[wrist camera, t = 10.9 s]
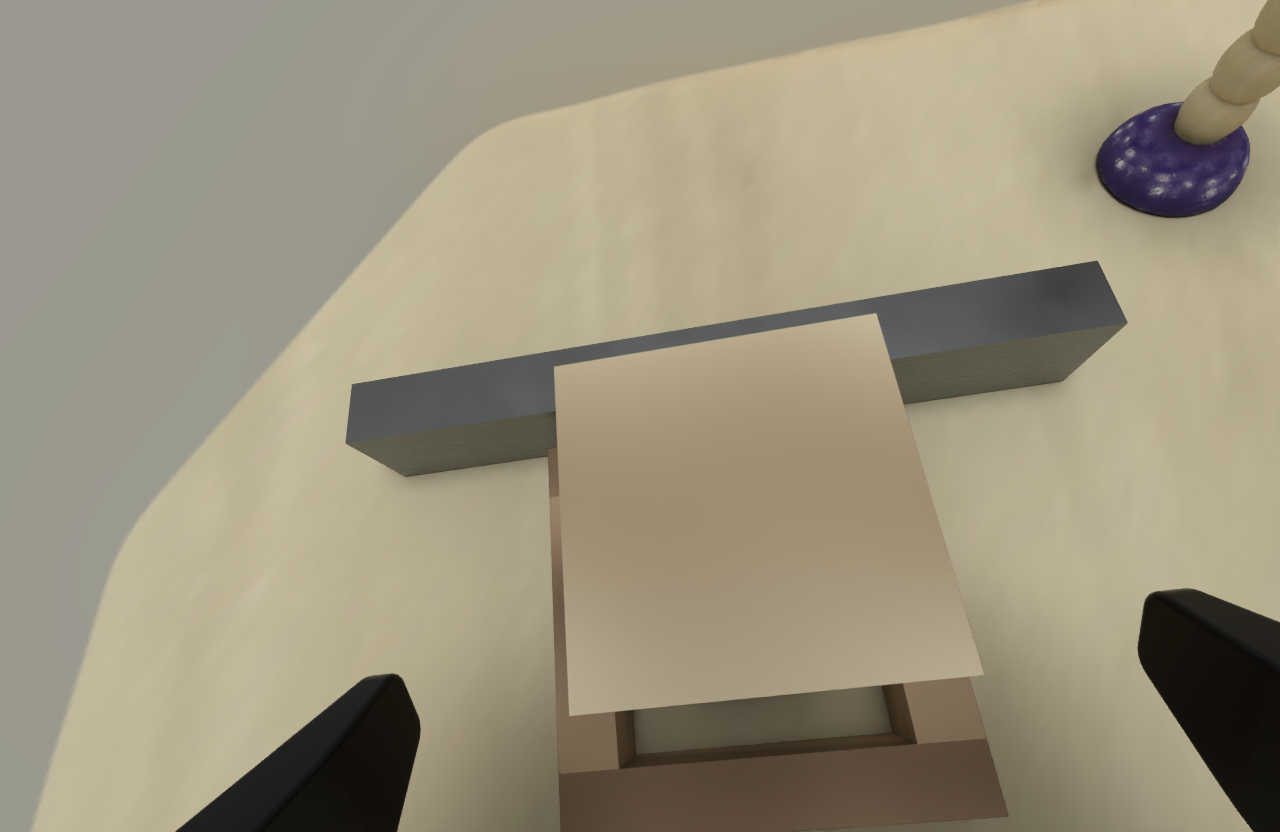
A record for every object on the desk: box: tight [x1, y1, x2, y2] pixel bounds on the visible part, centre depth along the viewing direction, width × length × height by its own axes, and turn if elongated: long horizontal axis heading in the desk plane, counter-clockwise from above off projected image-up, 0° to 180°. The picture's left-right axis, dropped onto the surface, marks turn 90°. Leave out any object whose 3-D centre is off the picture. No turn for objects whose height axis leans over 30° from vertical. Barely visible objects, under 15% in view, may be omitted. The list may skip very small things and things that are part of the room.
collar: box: [548, 448, 1009, 832], centre depth 17 cm, size 10×10×2 cm
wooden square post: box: [554, 313, 984, 716], centre depth 12 cm, size 4×4×13 cm
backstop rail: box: [346, 261, 1128, 477], centre depth 19 cm, size 2×22×4 cm, turn 95°
